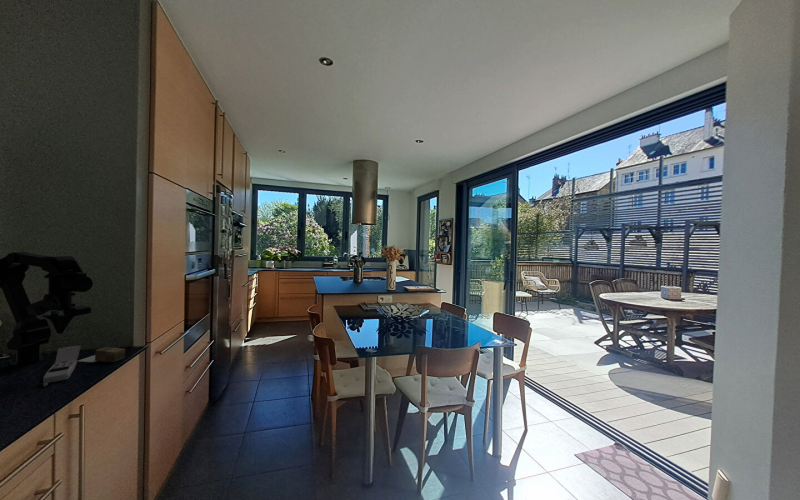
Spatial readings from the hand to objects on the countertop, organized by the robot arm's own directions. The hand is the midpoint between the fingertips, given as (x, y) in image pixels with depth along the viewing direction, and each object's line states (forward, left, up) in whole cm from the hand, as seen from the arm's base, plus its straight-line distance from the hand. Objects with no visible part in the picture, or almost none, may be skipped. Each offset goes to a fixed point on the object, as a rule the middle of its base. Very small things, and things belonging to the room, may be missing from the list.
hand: (60, 333), depth 111 cm
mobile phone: (+7, -3, -12) cm, 15 cm away
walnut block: (+6, +9, -10) cm, 14 cm away
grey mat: (+4, +8, -12) cm, 15 cm away
